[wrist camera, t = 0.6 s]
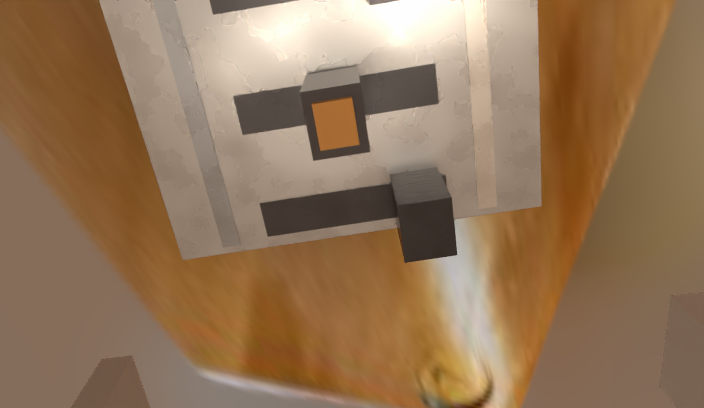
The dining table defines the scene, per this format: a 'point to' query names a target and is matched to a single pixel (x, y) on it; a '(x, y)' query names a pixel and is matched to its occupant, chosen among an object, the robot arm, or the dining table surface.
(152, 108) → the breaker panel
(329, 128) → the toggle
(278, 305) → the dining table surface
